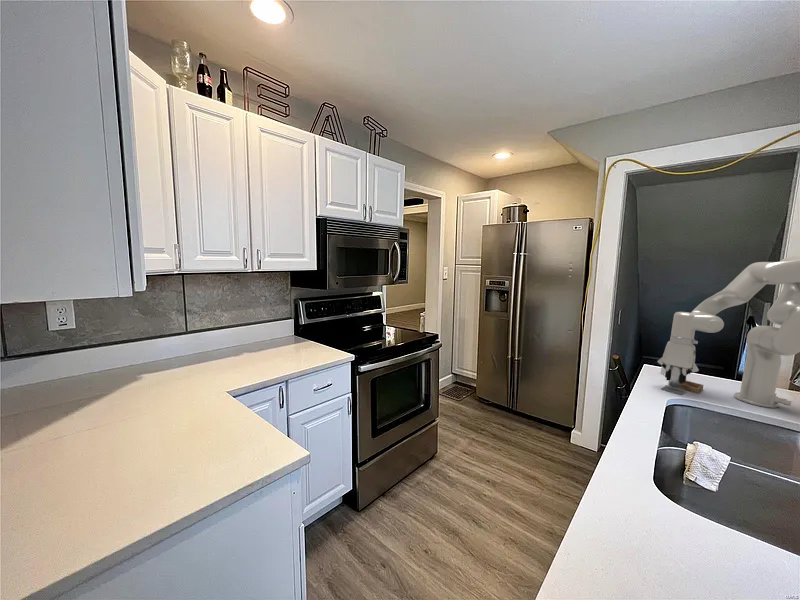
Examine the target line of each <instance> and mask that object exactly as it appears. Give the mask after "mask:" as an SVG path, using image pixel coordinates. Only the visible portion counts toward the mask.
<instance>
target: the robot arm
mask: <svg viewBox="0 0 800 600" xmlns="http://www.w3.org/2000/svg"><path fill="white" fill-rule="evenodd" d="M766 285H774V286H775V285H783V288H782V290H781V292H780V294H779V295H778V297H776V299H775V300H774V302H773V304H772V305H771V307H770V308H769V309H768V311H767V313H766V318H767V319H768V321H770V322H771V323H773V324H775V325H779V327H775V326H771V325H757V326H754V327H753V328H751V329H750V330H749V331H748V333H747V335H746V345H747V346H746V347H747V349H746V359H745V363H744V369H743V373H742V378H741V379H742V380H741V384H740V385H741V386H740V388H739V389H740V390H739V392H738V391H737V392H734V394H733V396H734V398H735V399H737V400H739V401H741V402H744V403H747V404H751V405H754V406H759V407H764V408H770V409H771V408H772V409H775V408H776V409H777V408H778V407H779V405H780V404H781V405H784V406H788V407H791V406H792V401H791V400H788V399H786V398H782V397H779V396H777V393H776V389H777V385H778V380H779V375H780V371H781V365H782V358H781V357H782V356H783V357H784V356H785V357H787V356H788V357H789V356H794V355H797V354H799V353H800V255H799V256H798V255H797V256H796V255H795V256H789V257H785V258H783V259H781V260H780V261H758V262H753V263H751V264H749V265H748V266H747V267H744V269H742V271H741V272H740V273H739V274H738V275H737V276H736V277H735V278H734V279H733V280H732V281H730V282H729V283H728V285H727V286H726V287H724V288H723V289H722V290H720V291H718V292H716V293H715V294H713V295H712V296H709V297H707V298H705V299H704V300H703V301H702V302H701V303H699V304H698V305H697V306H696V307H695V308H694V309H693V310H692V311H691V312H688V311H687V312H686V311H676V312H675V313H674V314H673V318H672V319H673V320H672V326H671V330H670V331H671V332H670V339H669V341H667V343H666V345H665V348H664V351H663V354H664V355H663V354H662V356H661V357H660V358H659V359H658V360H657V362H656V363H658V364H659V365H661V367H662V366H663V368H664V369H665V371H666V375H664V377H665V379H666V381H669V377H670V370H671V365H672V366H676V367H681V368H682V371H683V373H682V375H681V378H680V384H683V383H684V382H685V381H687V376H688V375H690V374H693V373H697V372H699V368H698V366H697V364H696V363H695V362H696V346H695V345H698V343H699V341H698V340H696V339H695V333H696V331H699V332H703V333H709V334H711V333H713V334H715V333H718V332H720V331H721V330H723V328H724V327H725V322H724V321H723V319H722V318H721V317H719V316H718V315H717V314H719V313H720V312H721V311H723V310H725V309H728V308H732V307H736V306H740V305H744V304H745V303H748V302H749V301H750V300H751V299H752V298H753V297H754V296H755V295H756V294H758V293H759V291H761V290H762V289H763V288H764V287H765V286H766ZM666 364H667V365H666Z"/></svg>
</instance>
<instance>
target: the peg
mask: <svg viewBox="0 0 800 600" xmlns="http://www.w3.org/2000/svg"><path fill="white" fill-rule="evenodd" d="M682 372H683V371H682V368H681V367H676V366H672V365H671V370H670V377H669V380H668V383H667V385H668V386H671V387H674V388H680V378H681V375H682Z"/></svg>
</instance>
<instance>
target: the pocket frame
mask: <svg viewBox="0 0 800 600" xmlns="http://www.w3.org/2000/svg"><path fill="white" fill-rule="evenodd" d="M704 386H705V385H704V384H701V383H697V382H693V381H689V380H686V381H685V382H684V383H683V384H680V388H679V389H683V390H686V392H690V393H693V394H697V395H698V394H700V393H701V392H702V391H703V390H704Z"/></svg>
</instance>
